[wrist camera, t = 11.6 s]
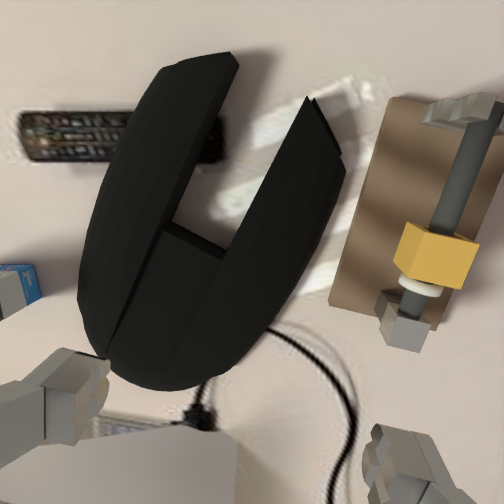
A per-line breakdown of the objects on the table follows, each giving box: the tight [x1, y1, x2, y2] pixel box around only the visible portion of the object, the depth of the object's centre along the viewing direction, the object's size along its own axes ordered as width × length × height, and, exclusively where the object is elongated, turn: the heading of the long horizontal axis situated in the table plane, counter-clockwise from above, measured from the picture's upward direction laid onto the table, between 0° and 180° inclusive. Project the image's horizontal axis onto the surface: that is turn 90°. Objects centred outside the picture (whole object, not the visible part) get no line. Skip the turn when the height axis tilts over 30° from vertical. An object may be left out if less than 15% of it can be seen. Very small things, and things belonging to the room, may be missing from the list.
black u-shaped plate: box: [77, 52, 346, 392], centre depth 38 cm, size 25×41×5 cm, turn 153°
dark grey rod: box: [398, 101, 504, 319], centre depth 29 cm, size 18×4×4 cm, turn 168°
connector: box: [374, 290, 431, 353], centre depth 34 cm, size 3×3×7 cm
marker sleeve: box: [393, 222, 480, 290], centre depth 29 cm, size 4×4×4 cm
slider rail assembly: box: [328, 92, 504, 331], centre depth 31 cm, size 22×12×10 cm, turn 168°
